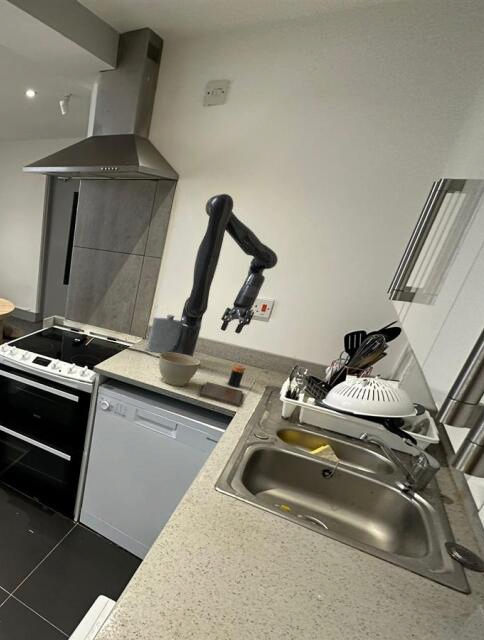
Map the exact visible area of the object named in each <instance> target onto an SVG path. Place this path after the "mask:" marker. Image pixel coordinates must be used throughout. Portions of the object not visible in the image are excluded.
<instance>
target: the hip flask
mask: <svg viewBox="0 0 484 640" xmlns="http://www.w3.org/2000/svg"><path fill="white" fill-rule="evenodd" d="M175 316H176V315H173V314H167V315H166V317H153V319H152V324H151V329H150V333H149V337H148V340H147V341H148V342H147V347H146V351H148V352H152V353H158V354H162V353H164V352H168V351H170V350H171V349H172V348H173V347H174V344H175V343H176V339H177V335H178V331H179V327H180V321H181V319H180V320H179V319H174V318H175Z"/></svg>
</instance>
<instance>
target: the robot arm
mask: <svg viewBox="0 0 484 640" xmlns="http://www.w3.org/2000/svg"><path fill="white" fill-rule="evenodd" d="M204 208H205V213H206V215H207V216H208V223H207V228H206V230H205V234H204V236H203V238H202V240H201V242H200V244H199V246H198V249H197V253H196V256H195V261H194V265H193V266H194V267H193V278H192V279H193V281H192V288H191V291H190V294H189V297H187V299H186V300H185V302H184V305H183V309H182V313H181V317H180V327H179V331H178V335H177V339H176V343H175V344H174V347H173V348H172V349H171V350H170V351H168V352H171V353H179V354H184V355H188V356H191V357H194V354H195V350H196V347H197V344H198V340H199V336H200V332H201V329H202V322H203V317H204V314H206V312H207V310H208V307H209V306H208V305H209V298H210V292H211V287H212V283H213V280H214V279H215V275H216V272H217V268H218V265H219V260H220V256H221V252H222V247H223V242H224V238H225V232H226V233H227V234H228V235H229V236H230V237H231V238H232V240H233V241H234V242H235V243H236V244H237V246H238V247H239V248H240V249H241V251H242V252H243V253H244V254H245V255H247V256H251V257H253V258H252V259H251V261H250V262H249V263H250V264H249V267H248V271H247V277H246V278H245V280H244V282H243V284H242V286H241V288H240V289H239V291H238V293H237V295H236V297H235V299H234V301H233V304H232V305H233V307H232V308H230V307H227V308H226V309H225V311H224V312H223V314H222V317H221V318H220V320H222V321H223V322H222V324H221V326H220V331H223V332H225V331H226V330H227V329H228V326H229V324H230V322H232V321H234V320H238V324H237V326H236V328H235V330H234V333H236V334H240V333H241V332H242V331H243V328H244V327H245V326H249V325H250V323H251V321H252V319H253V317H254V314H255V312H254V311H253V310H252V308H253V306H254V304H255V302H256V300H257V298H258V296H259V293H260V291H261V289H262V287H263V284H264V283H265V280H266V277H265V275H264V271H265V270H270V269H274V268H275V267H276V266H277V264H278V261H279V259H278V255H277V254H276V252H275V250H273V249H272V248H270V247H269V246H268V245H266V244H265V243H263V242H262V241H261V240H260V239H259V238H258V237H259V236H257V235H256V234H255V232H253V230H252V229H251V228H249V226H247V225H246V224H244V222H242V221H241V220H240V219H239V218H238V217H237V215H236V214H235V213H234V212H233V209H234V199H233V197H232V196H231V195H230V194H227V193H221V194H216V195H212V196H211V197H210V198H209V199H208V200H207V202H206V204H205V207H204ZM116 347H118V348H119V347H122V348H125V349H127V350H132V351H135V352H139V353H144V354H147V355H148V356H151V357H153V358H154V357H155V358H159V359H160V355H154V354H152V353H149V352H147V351H144V350H140V349H137V348H131V347H128V346H126V345H123V344H118V345H116ZM164 353H167V352H164Z"/></svg>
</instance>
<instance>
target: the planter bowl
mask: <svg viewBox="0 0 484 640" xmlns="http://www.w3.org/2000/svg"><path fill="white" fill-rule="evenodd" d="M159 356H160V358H159V361H158V368H159V373H160V375H161V377H162V378H161V379H162V381H163V382H164V383H166V384H168V385H171V386H176V387H177V386H178V387H180V386H181V387H183V386H185V385H186V384H187V382H189V381H190V380H192V378H194V376H195V374H196V373H197V371H198V369H199V366H200V364H201V361H200V360H199V359H198V358H196V357H194V356H193V357H191V356H188V355H184V354H179V353H171V352H167V353H159Z"/></svg>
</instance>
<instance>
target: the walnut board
mask: <svg viewBox="0 0 484 640" xmlns="http://www.w3.org/2000/svg"><path fill="white" fill-rule="evenodd" d="M242 395H243V390H241V389H237V388H234V387H229V386H226V385H221V384H217V383H214V382H210V381H206V382H205V384H204V386H203V388H202V390H201V391H200V393H199V397H203V398H205V399H210V400H213V401H216V402H220V403H224V404H227V405H231V406H234V407H239V405H240V402H241V398H242Z"/></svg>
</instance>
